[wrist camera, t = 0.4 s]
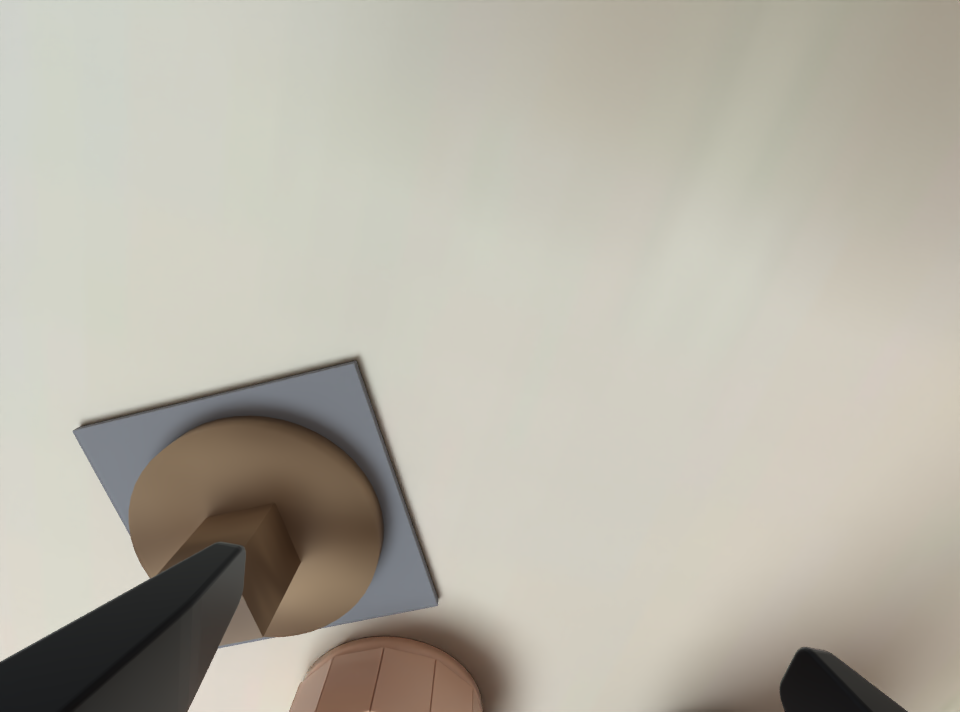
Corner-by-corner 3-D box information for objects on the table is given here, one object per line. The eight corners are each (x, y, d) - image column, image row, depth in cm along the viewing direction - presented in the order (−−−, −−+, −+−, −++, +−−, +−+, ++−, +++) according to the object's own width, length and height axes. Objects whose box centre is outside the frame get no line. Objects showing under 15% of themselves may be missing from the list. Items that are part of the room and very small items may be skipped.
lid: (412, 593, 24) (393, 695, 19) (204, 634, 25) (136, 741, 20) (338, 390, 21) (293, 449, 16) (103, 445, 22) (-8, 518, 17)
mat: (438, 599, 25) (437, 605, 24) (199, 646, 26) (194, 652, 26) (355, 360, 21) (353, 363, 21) (79, 427, 22) (72, 431, 22)
